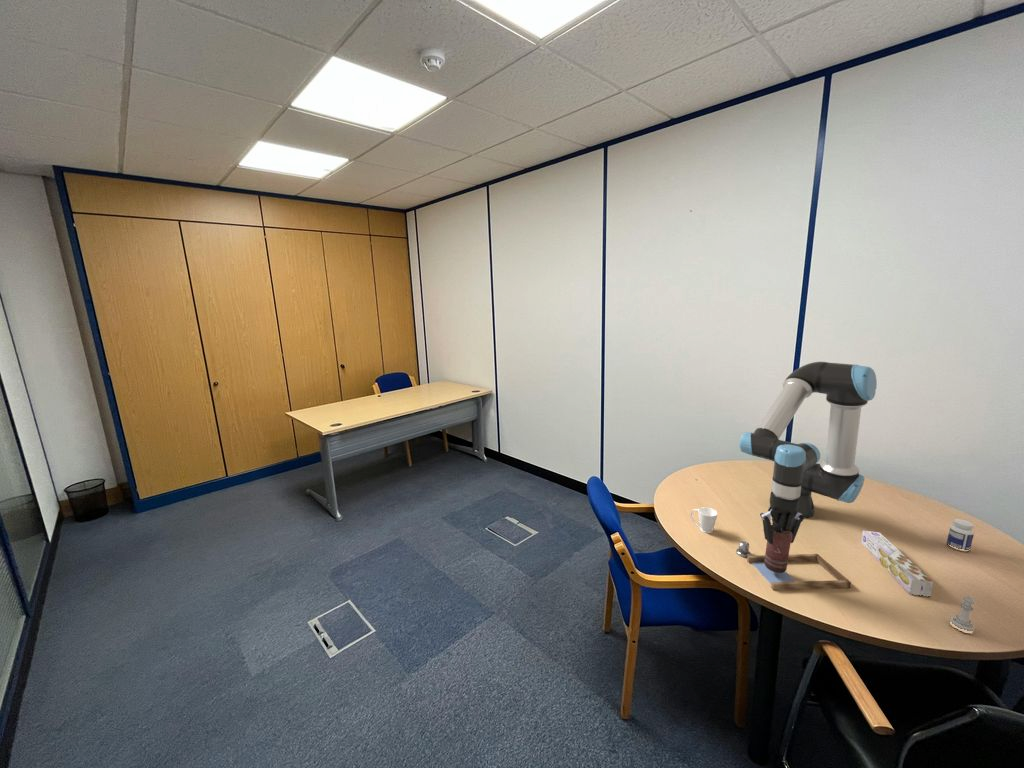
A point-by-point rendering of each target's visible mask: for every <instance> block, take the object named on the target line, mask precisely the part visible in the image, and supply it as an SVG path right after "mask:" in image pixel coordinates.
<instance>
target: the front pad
mask: <svg viewBox="0 0 1024 768" xmlns="http://www.w3.org/2000/svg"><path fill="white" fill-rule="evenodd" d="M751 565H753V567H755V568H756V569H757V570H758V572H759V573H760V574H761V576H763V577H764V578H765V579H766V580H767V582H768V583H769V584H770V585H771V583H772V582H796V580H794V578H793V577H791V575H790V574H789V573H788V572H787V571H785V572H783V573H776V572H773V571H771V570H769V569H768V568H767V567H766V566H765V564H764V562H754V563H751Z"/></svg>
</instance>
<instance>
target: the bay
mask: <svg viewBox="0 0 1024 768" xmlns="http://www.w3.org/2000/svg"><path fill="white" fill-rule="evenodd" d="M764 560H765V554H763V555H762V554H761V555H751V556H748V557H747V558H746V561H747V563H749V564H750V563H751V564H752V563H754V562H764ZM788 562H789V563H791V562H795V563H796V562H797V563H798V562H817V564H819V565H820V566H821V567H822V568H823V569H824V570H826V571H827V572H828V573H829V574H830V575H831V576H832V577H833V578H835V579H836V580H806V581H803V580H801V581H795V582H772V583H771V584H770V588H771V590H772V591H782V590H783V591H786V590H787V591H788V590H790V591H792V590H821V589H822V590H823V589H825V590H826V589H828V590H829V589H830V590H831V589H850V588H851V585H852V581H850V580H849V579H848V578H846V576H845V575H843V574H842V573H841V572H840V571H838V570H837V569H836V568H835V567H833V565H831V564H830V563H829V562H828V561H827V560H825V559H824V558H823V557H822V556H821V555H820V554H818V553H803V554H801V553H800V554H799V553H797V554H789V556H788Z"/></svg>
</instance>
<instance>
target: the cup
mask: <svg viewBox="0 0 1024 768" xmlns="http://www.w3.org/2000/svg"><path fill="white" fill-rule="evenodd" d="M694 511H695V512H696V513H697V512H698V521H699V524H698V523H697V522H696V521H695V520H694V517H693V516H692V515H693V512H694ZM717 517H718V511H717V510H715V509H714V508H711V507H707V506H703V507H699V508H698V509H697V508H693V509H692V510H691V511H690V513H689V518H690V520H691V521H692V522H693V524H694V525H695V526H696V527H698V528H699V529H700V531H701V532H702V533H705V534H712V533H713V530H714V527H715V525H716V521H717Z"/></svg>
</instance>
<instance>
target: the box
mask: <svg viewBox="0 0 1024 768" xmlns="http://www.w3.org/2000/svg"><path fill="white" fill-rule="evenodd" d="M861 544H862V545H864V546H865V547H866V548H867V549H868V550H869V551H870V552H871V553H872V554H871V553H870V552H869V551H868V550H867V549H866V548H865V547H864V546H863V547H864V548H865V549H866V550H867V551H868V552H869V553H870V554H871V555H872V556H873V555H874V556H875V557H874V556H873V557H874V558H875V559H876V558H877V559H876V561H878V563H880V565H881V566H884V567H885V568H886V569H887V570H888V571H889V572H890V573H891V574H892V575H893V576H894V577H895V578H894V577H893V576H892V575H891V574H890V573H889V572H888V571H887V570H886V569H885V568H884V567H883V568H884V569H885V570H886V571H887V572H888V573H889V574H890V575H891V576H892V577H893V578H894V579H895V580H896V581H897V582H898V583H899V585H901V587H902V588H904V589H905V590H907V591H908V592H909V593H910V594H909V593H908V594H909V595H912V594H913V596H918V595H920V596H921V595H923V596H922V597H928V596H930V597H931V596H932V591H933V585H934V581H933V580H932V579H930V578H929V576H927V575H926V574H925V573H924V572H923V570H921V569H920V568H919V567H918V566H917V565H915V564H914V563H913V562H912V561H911V560H910V559H909V558H908V557H907V556H906V555H904V554H903V553H902V552H901V550H899V549H898V548H897V547H896V546H895V545H894V544H893V543H891V542H890V540H888V539H887V538H886V537H885V536H884V535H883V534H882V533H881V532H877V531H869V530H862V535H861ZM907 591H906V592H907Z"/></svg>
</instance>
